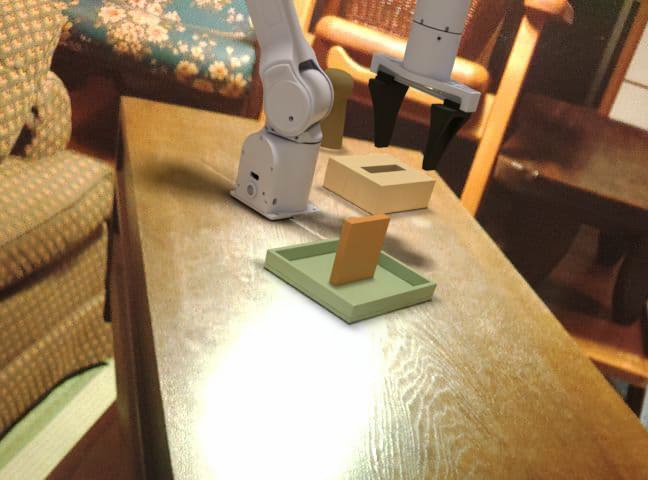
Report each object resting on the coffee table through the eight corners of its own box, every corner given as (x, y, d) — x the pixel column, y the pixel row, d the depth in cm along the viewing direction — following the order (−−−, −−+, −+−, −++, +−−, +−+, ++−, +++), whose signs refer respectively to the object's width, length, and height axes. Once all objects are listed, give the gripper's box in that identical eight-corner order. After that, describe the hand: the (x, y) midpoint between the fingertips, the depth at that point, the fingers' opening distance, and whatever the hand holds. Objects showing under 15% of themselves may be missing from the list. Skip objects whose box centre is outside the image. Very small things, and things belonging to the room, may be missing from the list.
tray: (349, 323, 78) (354, 305, 76) (263, 266, 83) (266, 249, 81) (431, 299, 88) (437, 283, 86) (351, 250, 93) (355, 234, 91)
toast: (335, 286, 82) (351, 223, 78) (328, 281, 83) (344, 219, 78) (373, 277, 87) (390, 217, 82) (366, 272, 87) (383, 213, 83)
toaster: (372, 219, 103) (381, 185, 100) (321, 189, 106) (328, 156, 104) (429, 210, 112) (439, 179, 109) (380, 183, 116) (388, 152, 113)
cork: (337, 155, 121) (354, 79, 113) (302, 143, 121) (317, 66, 113) (344, 147, 125) (361, 73, 118) (310, 135, 125) (325, 61, 118)
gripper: (509, 48, 81) (469, 177, 90) (408, 10, 87) (380, 135, 96) (474, 45, 77) (436, 182, 86) (371, 6, 82) (344, 138, 91)
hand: (404, 158), depth 90 cm, fingers open, 7 cm apart
